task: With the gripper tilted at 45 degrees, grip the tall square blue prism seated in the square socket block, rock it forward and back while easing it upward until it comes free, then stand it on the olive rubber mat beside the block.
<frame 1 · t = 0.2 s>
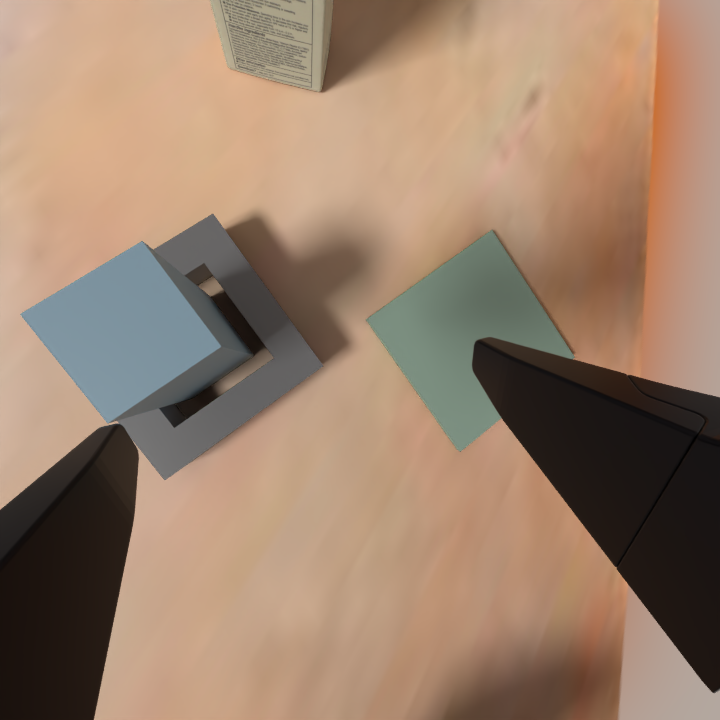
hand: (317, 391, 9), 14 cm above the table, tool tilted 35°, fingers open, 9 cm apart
square socket block: (201, 347, 22), on the table
tall square blue prism: (174, 341, 17), in the square socket block
skincare box: (278, 53, 24), on the table
green mat: (473, 339, 25), on the table
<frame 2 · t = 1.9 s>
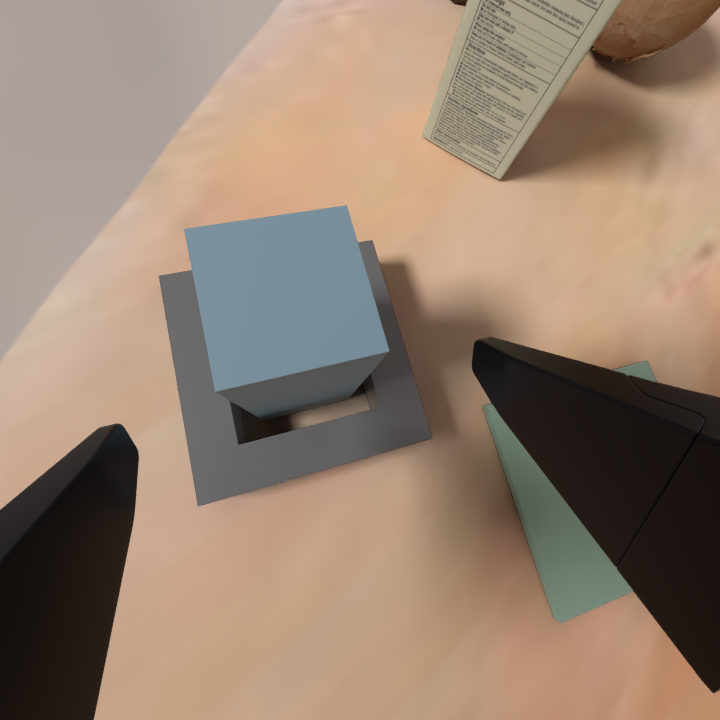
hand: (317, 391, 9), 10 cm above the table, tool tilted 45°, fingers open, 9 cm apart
square socket block: (297, 368, 19), on the table
tall square blue prism: (293, 342, 14), in the square socket block
skincare box: (469, 140, 25), on the table
onion: (597, 50, 29), on the table
green mat: (601, 476, 20), on the table
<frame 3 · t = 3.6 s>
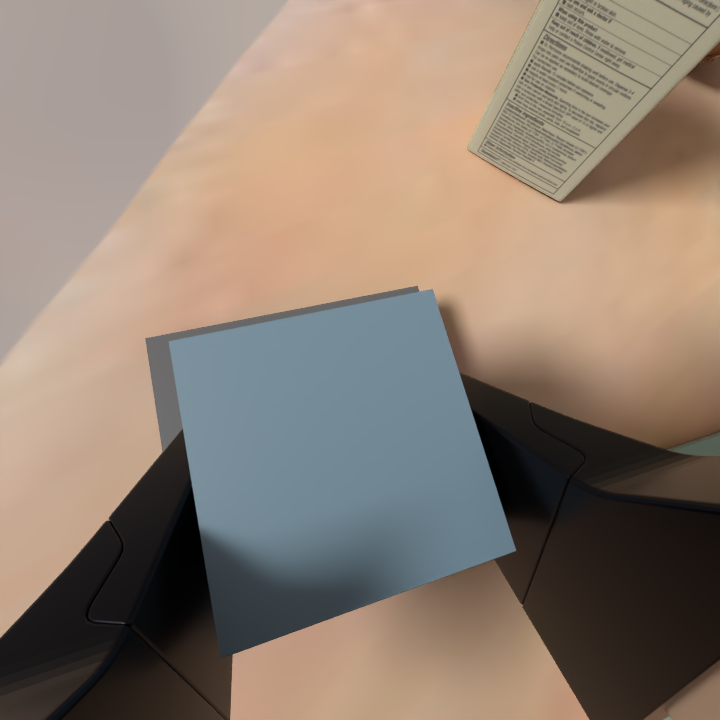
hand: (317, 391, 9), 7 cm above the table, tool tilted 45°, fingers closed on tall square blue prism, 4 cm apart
square socket block: (320, 445, 15), on the table
tall square blue prism: (326, 445, 10), in the square socket block, touching gripper
skincare box: (521, 154, 21), on the table
green mat: (696, 577, 16), on the table
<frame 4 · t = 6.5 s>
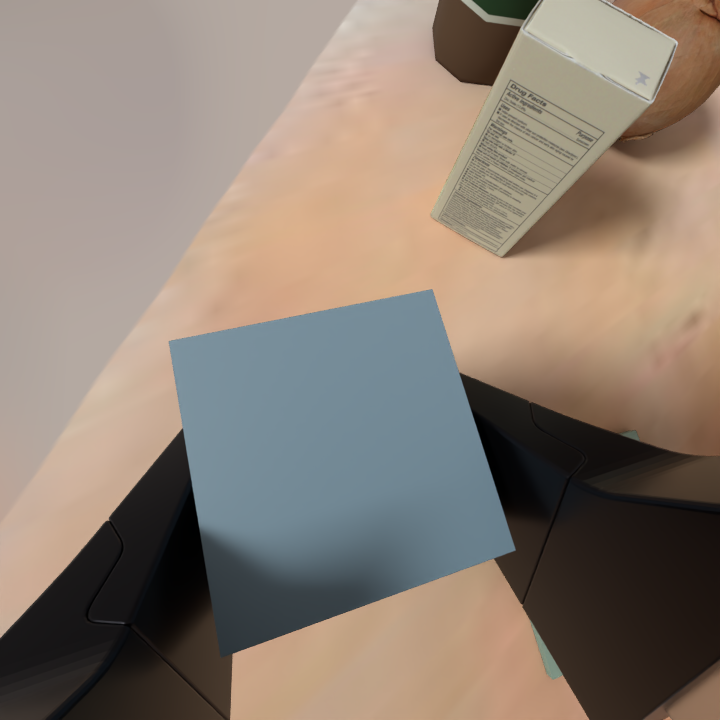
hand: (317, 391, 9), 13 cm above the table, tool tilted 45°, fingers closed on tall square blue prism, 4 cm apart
tall square blue prism: (326, 445, 10), point 11 cm above the table, touching gripper
skincare box: (473, 218, 27), on the table
beer bottle: (471, 54, 30), on the table
onion: (594, 122, 31), on the table
green mat: (591, 541, 22), on the table
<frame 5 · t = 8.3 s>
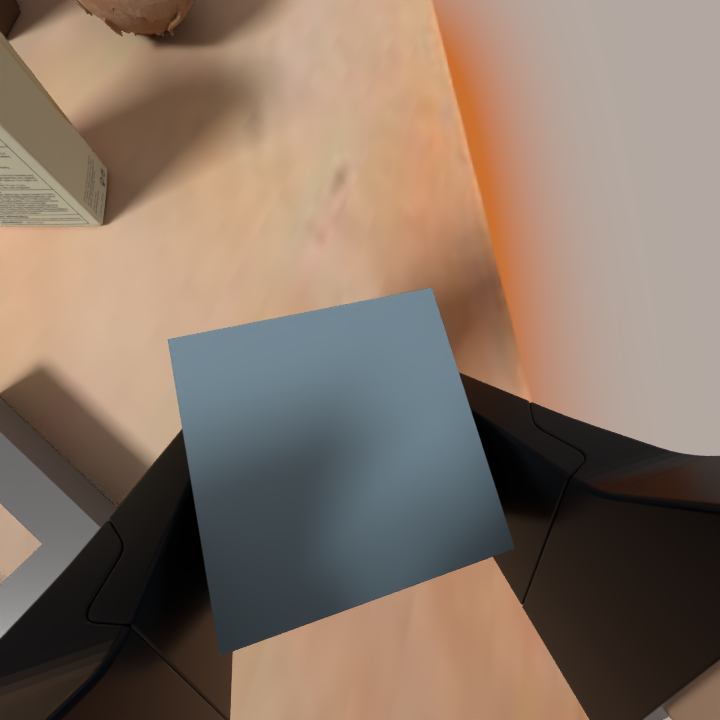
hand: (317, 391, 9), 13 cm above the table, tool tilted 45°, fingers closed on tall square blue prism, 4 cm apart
tall square blue prism: (326, 444, 10), point 11 cm above the table, touching gripper
skincare box: (54, 199, 23), on the table
onion: (151, 26, 27), on the table
when the fingers open (9 cm above the table, at t = 9.8 s): tall square blue prism drops 1 cm, resting on green mat.
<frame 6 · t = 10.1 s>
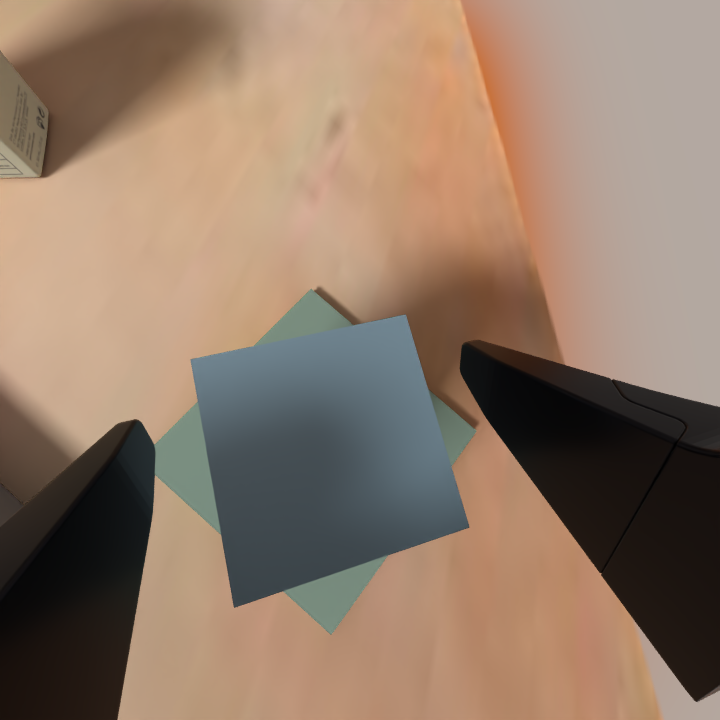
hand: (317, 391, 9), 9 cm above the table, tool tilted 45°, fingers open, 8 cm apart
tall square blue prism: (321, 443, 12), on the green mat
green mat: (319, 444, 17), on the table
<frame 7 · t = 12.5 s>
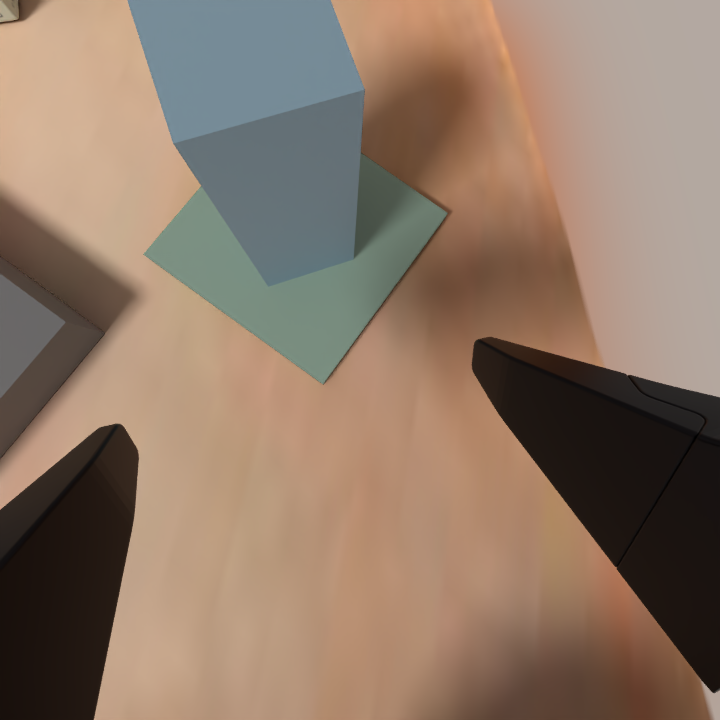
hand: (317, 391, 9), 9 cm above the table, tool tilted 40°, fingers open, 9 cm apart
tall square blue prism: (279, 169, 13), on the green mat
green mat: (300, 237, 19), on the table
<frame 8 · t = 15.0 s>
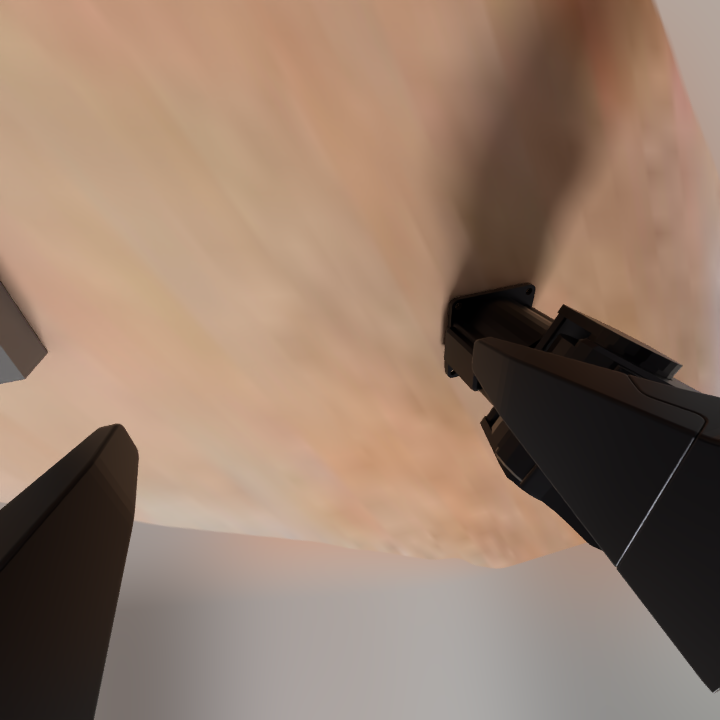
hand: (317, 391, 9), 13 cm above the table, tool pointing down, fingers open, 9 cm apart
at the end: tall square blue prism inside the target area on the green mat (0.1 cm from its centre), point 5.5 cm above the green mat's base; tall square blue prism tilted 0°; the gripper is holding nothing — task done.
